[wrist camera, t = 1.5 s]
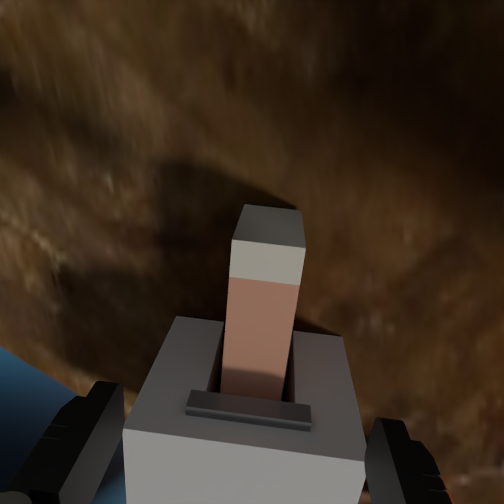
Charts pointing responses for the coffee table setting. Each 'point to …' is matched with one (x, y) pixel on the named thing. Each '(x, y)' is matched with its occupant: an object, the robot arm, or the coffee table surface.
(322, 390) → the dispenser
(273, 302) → the pink white-banded pillar
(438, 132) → the coffee table surface
